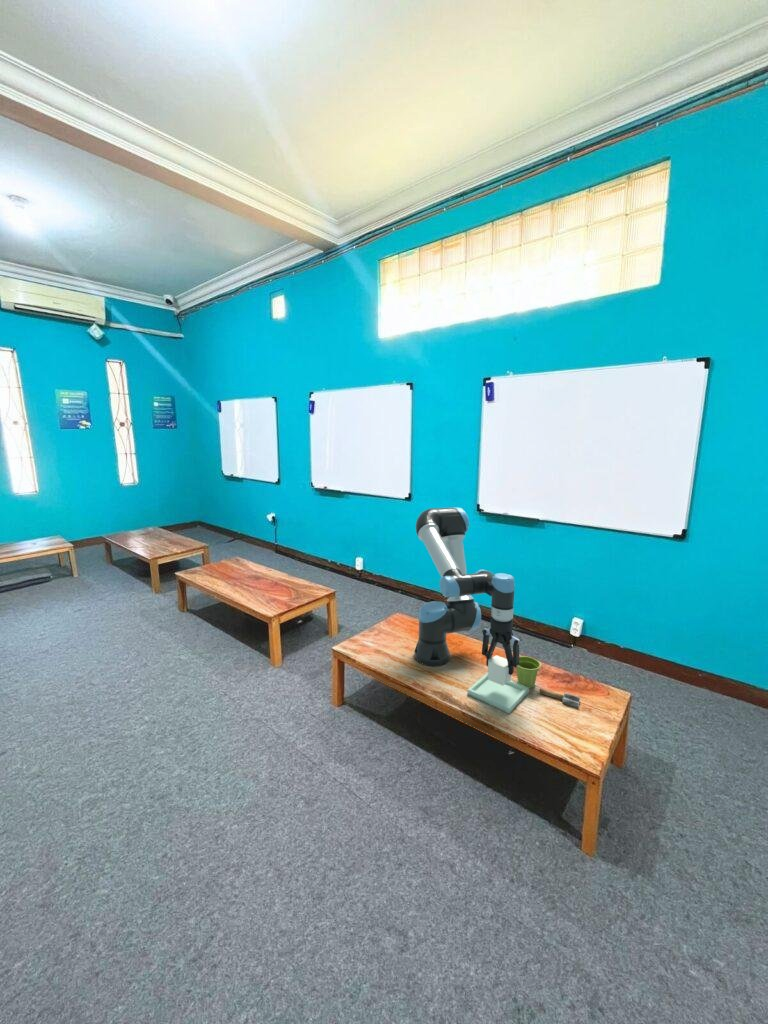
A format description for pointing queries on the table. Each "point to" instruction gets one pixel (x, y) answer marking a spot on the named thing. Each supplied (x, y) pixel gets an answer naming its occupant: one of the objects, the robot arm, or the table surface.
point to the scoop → (563, 698)
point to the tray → (498, 693)
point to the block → (497, 670)
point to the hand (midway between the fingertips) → (499, 678)
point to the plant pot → (527, 671)
